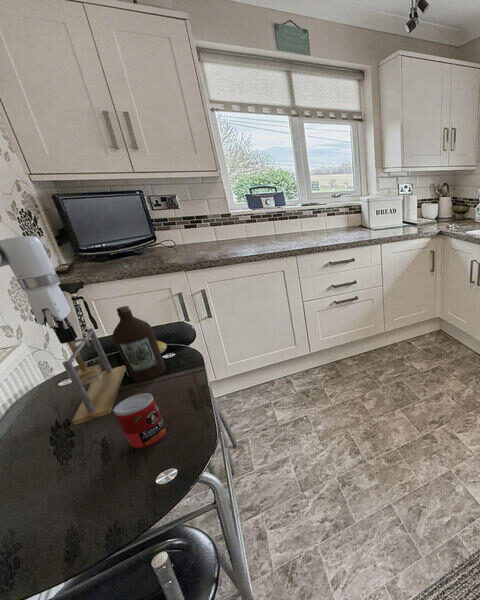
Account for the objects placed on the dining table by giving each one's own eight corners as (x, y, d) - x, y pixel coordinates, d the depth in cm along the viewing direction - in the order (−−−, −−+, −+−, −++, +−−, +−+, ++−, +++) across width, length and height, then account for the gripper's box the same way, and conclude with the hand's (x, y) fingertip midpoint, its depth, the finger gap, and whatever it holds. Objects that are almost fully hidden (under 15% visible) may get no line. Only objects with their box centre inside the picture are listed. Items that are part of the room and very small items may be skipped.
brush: (79, 386, 99) (49, 328, 92) (83, 379, 103) (54, 323, 96) (103, 379, 102) (76, 322, 95) (106, 373, 105) (80, 317, 98)
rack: (74, 425, 90) (43, 370, 84) (98, 376, 115) (75, 330, 108) (110, 413, 94) (83, 359, 88) (126, 368, 118) (106, 323, 112)
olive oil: (132, 373, 115) (103, 307, 106) (167, 362, 120) (143, 299, 111) (130, 387, 106) (98, 317, 98) (168, 374, 112) (141, 307, 103)
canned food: (149, 451, 79) (132, 414, 75) (122, 448, 80) (104, 412, 76) (174, 428, 86) (160, 393, 82) (149, 426, 87) (134, 392, 83)
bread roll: (138, 360, 123) (134, 351, 122) (146, 350, 131) (142, 341, 130) (164, 355, 126) (160, 346, 124) (169, 345, 134) (166, 336, 132)
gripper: (32, 278, 95) (61, 335, 101) (8, 291, 82) (42, 355, 89) (66, 273, 98) (92, 328, 105) (48, 284, 86) (79, 346, 92)
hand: (69, 340), depth 97 cm, fingers closed on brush, 1 cm apart
